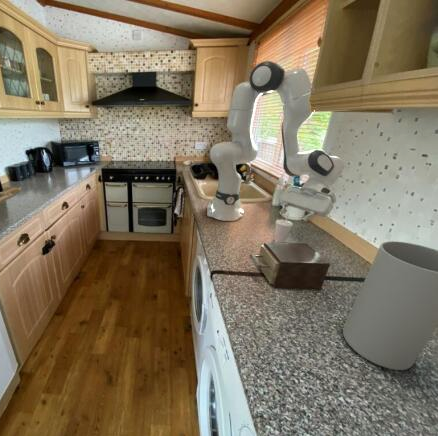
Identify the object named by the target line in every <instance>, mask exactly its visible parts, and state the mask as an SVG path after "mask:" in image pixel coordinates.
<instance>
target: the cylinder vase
mask: <svg viewBox="0 0 438 436" xmlns="http://www.w3.org/2000/svg"><path fill="white" fill-rule="evenodd" d="M437 328H438V249H435V248H431V247H428V246H425V245H421V244H416V243H412V242H405V241H394V240H390V241H383V242H382V243H380V245H379V247H378V249H377V252H376V254H375V256H374V259H373V261H372V263H371V265H370V267H369V270H368V271H367V274H366V277H365V278H364V280H363V283H362V285H361V288H360V290H359V292H358V294H357V296H356V299H355V301H354V303H353V305H352V307H351V310H350V312H349V314H348V316H347V319H346V321H345V323H344V326H343V328H342V336H343V338H344V339H345V341H346V343H347V344H348V345H349V346H350V348H352V349H353V350H354V351H355V352H356V353H357V354H358V355H359V356H361V357H363V358H364V359H366V360H367V361H369V362H371V363H373V364H374V365H377V366H379V367H383V368H386V369H390V370H393V371H405V370H408V369H410V368H411V367H412V366H413V365H414V363H415V362H416V360H417V359H418V358H419V356H420V355H421V353H422V351H423V350H424V348H425V347H426V345H427V343H428V342H429V340H430V338H431V337H432V336H433V335H434V333H435V331H436V329H437Z"/></svg>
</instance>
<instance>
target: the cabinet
mask: <svg viewBox="0 0 438 436" xmlns="http://www.w3.org/2000/svg"><path fill="white" fill-rule="evenodd" d="M263 245H265V246H266V248H267V249H268V250H269V251H270V252H271V253H272V254H273V255H274V257H275V258H276V259H277V260H278V261H279V263H280V264H279V268H278V272H277V275H276V279H275V283H274V284H271V285H272V286H273V288H275V289H277V288H278V289H302V290H303V289H305V290H307V289H308V290H322V288H323V285H324V283H325V280H326V277H327V274H328V272H329V269H330V266H331V262H329V261H328V260H327V259H326V258H325V257H323V256H322V255H321V254H320V253H319V252H317V250H315V249H314V248H313V247H312V246H311V245H309V243H306V242H285V243H276V242H274V241H272V242H271V241H270V242H269V241H264V243H263Z"/></svg>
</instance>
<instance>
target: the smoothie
mask: <svg viewBox="0 0 438 436" xmlns="http://www.w3.org/2000/svg"><path fill="white" fill-rule="evenodd" d="M289 215H290V212H286V217H285V219H276V220H275V223H274V224H275V229H274V230H275V231H274V241H273V242H276V243H286V240H287V238H288V236H289V234H290V231H291V229H292V228H293V226H294V224H293V222H292V221H289V220H288V219H289Z"/></svg>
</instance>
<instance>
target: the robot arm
mask: <svg viewBox="0 0 438 436" xmlns="http://www.w3.org/2000/svg"><path fill="white" fill-rule="evenodd" d="M312 87H313V84H312V81H311V78H310V77H309V74H308V72H307V71H306V69H304V68H298V67H297V68H294V69H291V70H289V71H285V69H284V68H283V67H282V66H281V65H280V64H279V63H277V62H273V61H270V60H266V61H261V62H260V63H258V64H256V65H255V66H254V67H253V69H252V70H251V72H250V74H249V81H243V82H240V83H238V84H237V85H236V86H235V88H234V90H233V93H232V97H231V100H230V104H229V109H228V114H227V121H226V128H227V131H228V132H230V133H231V136H232V137H231V138H232V140H231V141H222V142H218V143H216V144H213V145H212V147H211V148H210V151H209V159H210V162H212V164H213V165H214V166H215V167H216V169H217V173H218V181H217V189H216V190H215V195H214V197H213V198H212V199H211V200H210V201H208V205H207V207H206V216H207V217H209V218H214V220H215V219H216V220H219V221H223V222H234V221H238V220H239V219H241V218H243V214H242V213H244V210H243V209H242V208H241V207H242V201H240V197H241V185H242V175H241V174H240V173H238V171H237V165H242V164H243V165H245V164H247V163H250V162H253V161H254V160H256V158H257V157H258V152H259V150H258V145H257V144H256V143H255V142H254V139H253V132H252V131H253V122H254V118H255V113H256V107H257V102H258V100H259V97H263V96H266V95H270V94H273V93H275V92H276V93H277V94H278V96H279V98H280V102H281V103H280V104H281V107H282V113H283V117H282V122H281V125H280V127H281V130H280V131H281V140H282V141H281V142H282V149H283V161H282V162H283V163H282V164H283V165H282V166H283V170H284V173H285V174H286V175H287V176H289V177H292V178H295V177H300V176H308V178H307V180H305V183H304V184H303V185H302V186H296V185H291V186H288V187H286V188H285V190H283V192H282V193H281V194H280V195H279V196H278V201H279V203H280V204H282V208H281V209H280V213H282V214H286V213H288V210H287V209H286V208H288V207H292V208H295V209H297V210H301V211H304V212H307V213H308V214H306V215H305V214H304V215H303V216H302V217H301V221H304V222H307V221H308V220H309V219H312V218H314V217H315V216H319V217H321V218H325V217H327V216H329V214H330V213H331V212H332V210H333V208H334V204H336V202H337V196H336V194H335V192H334V190H332V189H331V186H333V185H334V184H335V183H336V182H337V181H338V180H339V178H340V177H341V175H342V174H343V172H344V169H345V167H346V166H345V162H344V160H343V159H342V158H341V157H338V156H336V155H329V154H328V153H327V152H326V151H325V150H323V149H319V148H318V149H312V150H307V151H302V152H301V151H300V146H299V145H300V144H299V143H300V142H299V130H300V129H301V128H302V126H303V125H304V123H305V122H307V121H308V120H309V119H310V118H311V117H312V115H313V114H314V112H310V102H309V98H310V93H311V88H312Z"/></svg>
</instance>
